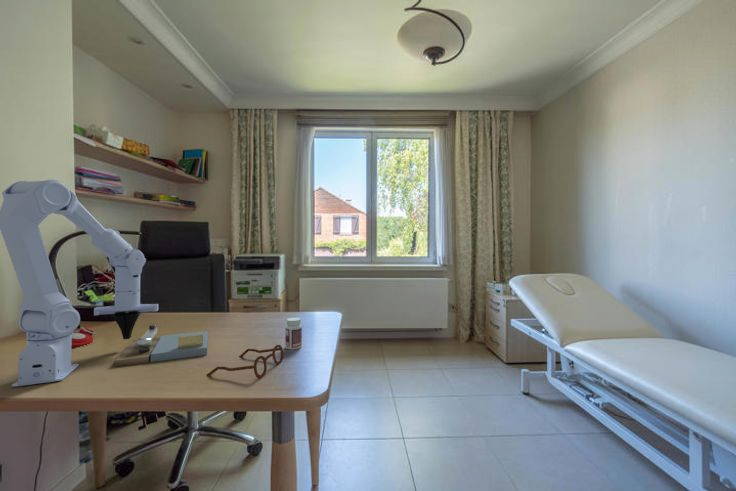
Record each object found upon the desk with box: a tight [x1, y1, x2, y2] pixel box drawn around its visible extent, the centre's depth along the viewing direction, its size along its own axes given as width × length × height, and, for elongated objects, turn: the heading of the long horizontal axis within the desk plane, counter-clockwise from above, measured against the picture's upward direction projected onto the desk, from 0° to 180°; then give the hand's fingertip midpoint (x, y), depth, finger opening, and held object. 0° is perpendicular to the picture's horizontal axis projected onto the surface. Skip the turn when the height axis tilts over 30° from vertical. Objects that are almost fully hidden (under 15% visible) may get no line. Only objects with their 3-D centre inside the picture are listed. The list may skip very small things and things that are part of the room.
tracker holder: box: [71, 326, 96, 349], centre depth 94 cm, size 12×4×10 cm
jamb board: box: [114, 336, 161, 368], centre depth 86 cm, size 18×7×3 cm, turn 26°
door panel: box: [150, 330, 210, 363], centre depth 90 cm, size 18×13×2 cm
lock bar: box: [136, 324, 158, 347], centre depth 88 cm, size 15×3×2 cm, turn 26°
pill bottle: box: [284, 317, 303, 351], centre depth 92 cm, size 5×5×8 cm
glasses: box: [206, 344, 284, 379], centre depth 77 cm, size 13×13×5 cm
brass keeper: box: [178, 334, 203, 348], centre depth 87 cm, size 4×6×3 cm
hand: (127, 338), depth 89 cm, fingers closed
